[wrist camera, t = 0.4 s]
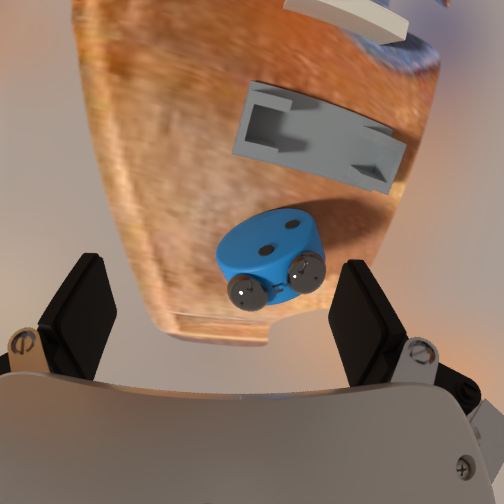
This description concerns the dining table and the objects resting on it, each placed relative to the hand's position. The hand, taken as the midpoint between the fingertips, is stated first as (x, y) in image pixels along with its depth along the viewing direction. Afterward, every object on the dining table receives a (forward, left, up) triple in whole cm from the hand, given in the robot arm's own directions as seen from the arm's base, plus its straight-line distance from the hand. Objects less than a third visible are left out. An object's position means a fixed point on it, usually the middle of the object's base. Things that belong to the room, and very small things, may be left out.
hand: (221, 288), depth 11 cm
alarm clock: (+11, +8, -30) cm, 33 cm away
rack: (-4, +11, -29) cm, 32 cm away
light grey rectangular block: (-22, +9, -30) cm, 38 cm away
